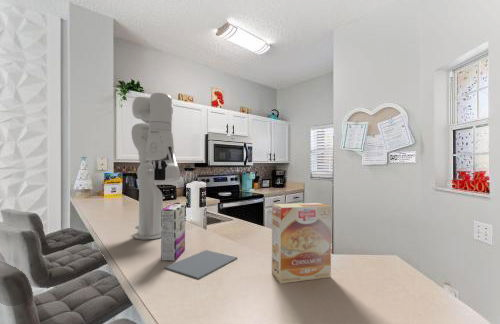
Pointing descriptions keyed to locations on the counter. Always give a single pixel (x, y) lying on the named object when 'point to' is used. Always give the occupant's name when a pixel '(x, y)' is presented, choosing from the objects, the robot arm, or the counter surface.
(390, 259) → the counter surface
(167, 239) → the candy bar box
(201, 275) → the mat
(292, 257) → the coffeecake box
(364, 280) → the counter surface
